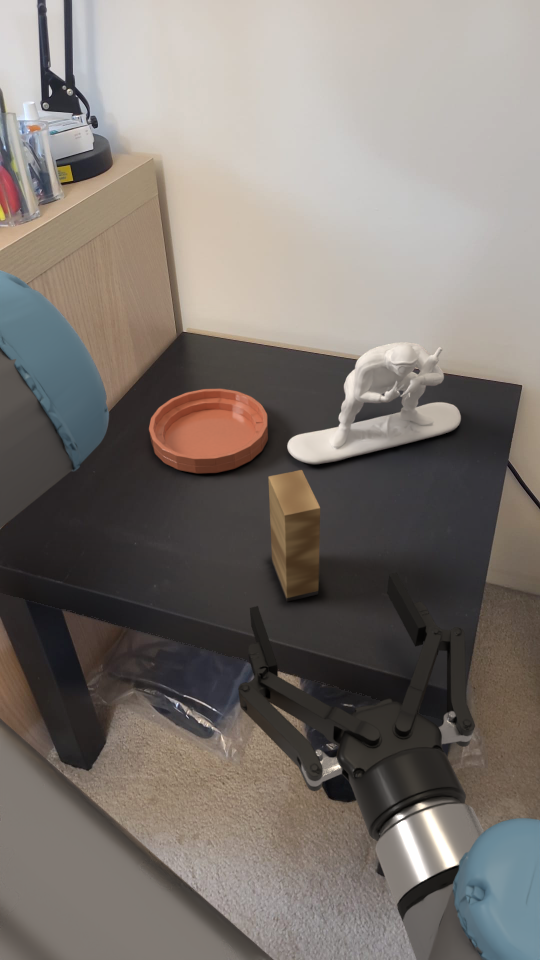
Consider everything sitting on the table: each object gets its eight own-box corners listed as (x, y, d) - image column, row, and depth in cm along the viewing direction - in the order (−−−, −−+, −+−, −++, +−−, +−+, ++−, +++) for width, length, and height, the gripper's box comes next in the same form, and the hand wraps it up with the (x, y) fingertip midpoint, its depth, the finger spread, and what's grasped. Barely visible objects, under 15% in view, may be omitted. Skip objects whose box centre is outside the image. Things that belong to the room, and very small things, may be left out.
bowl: (145, 477, 90) (142, 460, 88) (159, 407, 102) (157, 390, 100) (268, 474, 90) (267, 456, 88) (267, 404, 102) (267, 387, 100)
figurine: (308, 492, 87) (309, 380, 76) (274, 435, 96) (271, 327, 85) (483, 447, 93) (508, 336, 82) (436, 397, 102) (452, 291, 91)
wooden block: (286, 602, 74) (284, 515, 65) (272, 562, 78) (268, 476, 70) (318, 594, 75) (320, 507, 66) (302, 555, 79) (301, 469, 70)
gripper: (254, 896, 49) (198, 655, 65) (563, 797, 53) (440, 594, 69) (249, 854, 44) (189, 604, 60) (589, 749, 49) (451, 542, 64)
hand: (324, 598), depth 64 cm, fingers open, 13 cm apart
